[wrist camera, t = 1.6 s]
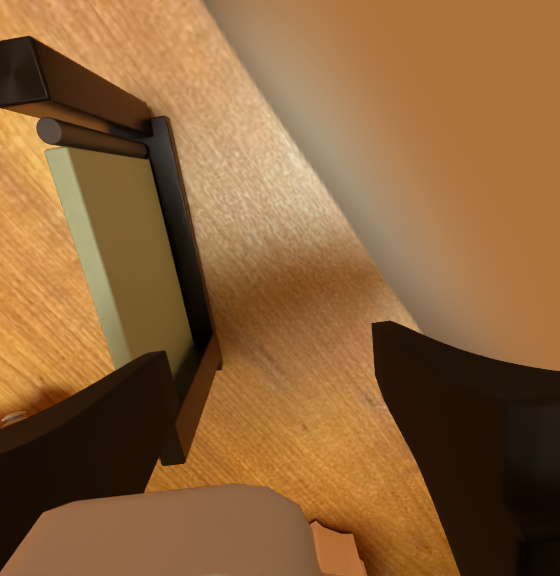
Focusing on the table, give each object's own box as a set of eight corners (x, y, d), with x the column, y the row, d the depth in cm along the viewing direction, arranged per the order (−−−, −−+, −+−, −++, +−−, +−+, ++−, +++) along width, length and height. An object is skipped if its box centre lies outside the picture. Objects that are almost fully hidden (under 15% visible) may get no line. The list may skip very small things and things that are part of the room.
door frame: (224, 365, 22) (190, 479, 14) (175, 371, 23) (111, 488, 14) (167, 102, 18) (61, 28, 9) (106, 112, 18) (-55, 48, 9)
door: (198, 362, 21) (159, 449, 14) (173, 365, 21) (123, 453, 14) (145, 140, 17) (56, 114, 10) (114, 145, 17) (7, 122, 11)
